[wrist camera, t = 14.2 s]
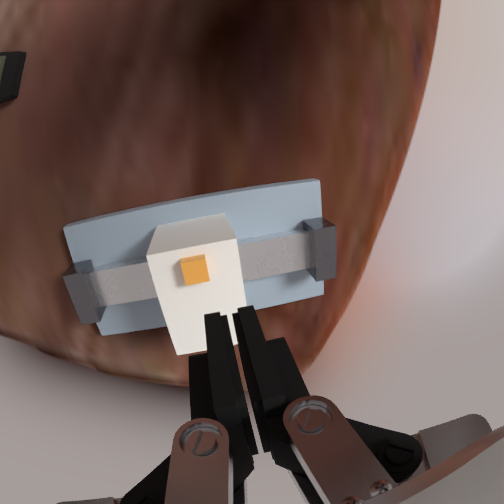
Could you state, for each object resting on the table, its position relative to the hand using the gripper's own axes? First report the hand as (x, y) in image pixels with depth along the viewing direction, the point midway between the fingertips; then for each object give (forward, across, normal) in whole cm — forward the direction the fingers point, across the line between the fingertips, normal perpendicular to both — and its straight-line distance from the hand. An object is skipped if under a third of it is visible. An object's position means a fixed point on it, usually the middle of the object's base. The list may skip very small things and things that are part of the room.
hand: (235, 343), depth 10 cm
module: (+17, +2, +4) cm, 18 cm away
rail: (+17, +2, +5) cm, 18 cm away
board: (+18, +2, +5) cm, 19 cm away
